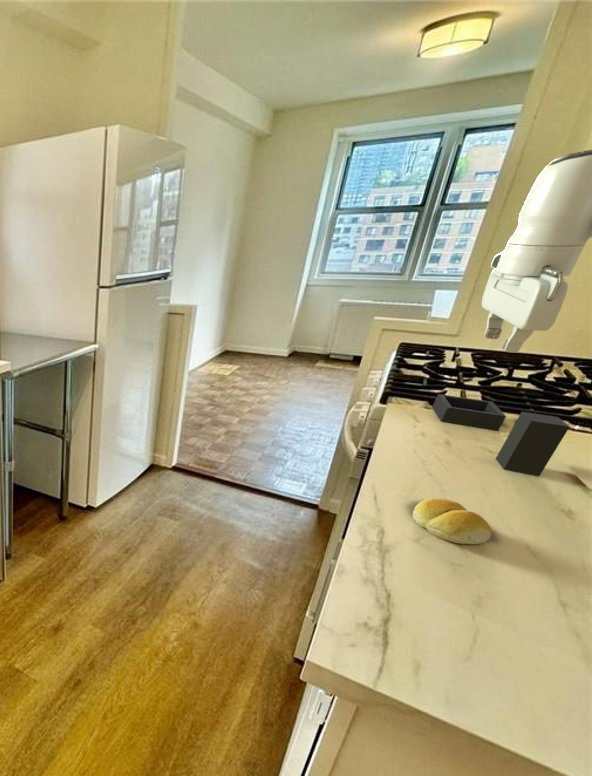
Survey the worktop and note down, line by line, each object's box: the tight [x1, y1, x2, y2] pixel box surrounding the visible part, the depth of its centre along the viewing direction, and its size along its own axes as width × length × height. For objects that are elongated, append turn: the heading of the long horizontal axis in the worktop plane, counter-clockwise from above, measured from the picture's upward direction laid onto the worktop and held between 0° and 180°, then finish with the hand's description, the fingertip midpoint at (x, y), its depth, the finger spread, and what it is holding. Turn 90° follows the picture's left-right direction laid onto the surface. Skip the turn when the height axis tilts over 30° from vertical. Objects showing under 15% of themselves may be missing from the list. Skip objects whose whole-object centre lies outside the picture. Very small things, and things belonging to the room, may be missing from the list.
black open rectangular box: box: [432, 393, 507, 431], centre depth 112 cm, size 10×10×4 cm
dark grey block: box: [495, 411, 570, 477], centre depth 89 cm, size 5×5×10 cm
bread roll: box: [412, 497, 492, 545], centre depth 74 cm, size 8×9×4 cm
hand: (499, 344), depth 87 cm, fingers open, 8 cm apart
